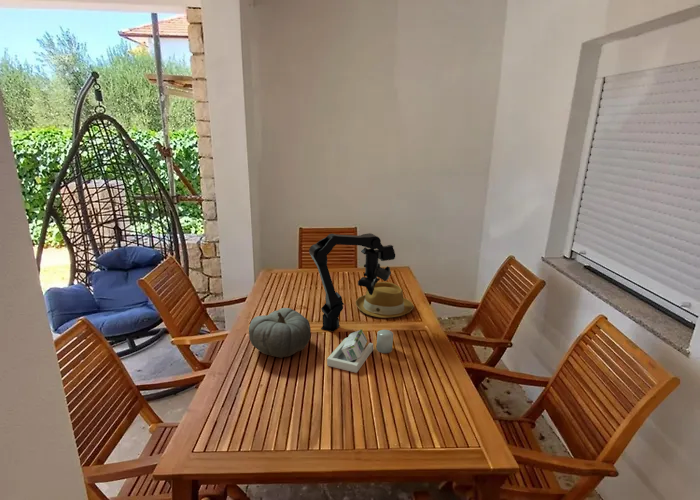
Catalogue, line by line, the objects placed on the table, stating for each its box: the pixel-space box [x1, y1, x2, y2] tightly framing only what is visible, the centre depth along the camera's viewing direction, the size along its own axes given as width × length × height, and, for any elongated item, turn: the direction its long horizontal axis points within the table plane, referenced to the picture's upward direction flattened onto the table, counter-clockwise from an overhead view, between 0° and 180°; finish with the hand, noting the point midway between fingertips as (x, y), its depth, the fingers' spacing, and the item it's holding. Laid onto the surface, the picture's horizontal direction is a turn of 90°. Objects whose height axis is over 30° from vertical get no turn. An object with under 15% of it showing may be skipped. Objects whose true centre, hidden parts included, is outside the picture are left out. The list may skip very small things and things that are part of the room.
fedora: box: [355, 281, 414, 319], centre depth 203 cm, size 27×29×12 cm
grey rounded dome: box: [376, 329, 394, 354], centre depth 165 cm, size 6×6×7 cm
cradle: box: [326, 337, 374, 374], centre depth 160 cm, size 12×18×3 cm
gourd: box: [248, 307, 312, 359], centre depth 165 cm, size 25×25×17 cm
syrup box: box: [341, 329, 368, 361], centre depth 161 cm, size 6×6×14 cm
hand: (371, 294), depth 187 cm, fingers closed
